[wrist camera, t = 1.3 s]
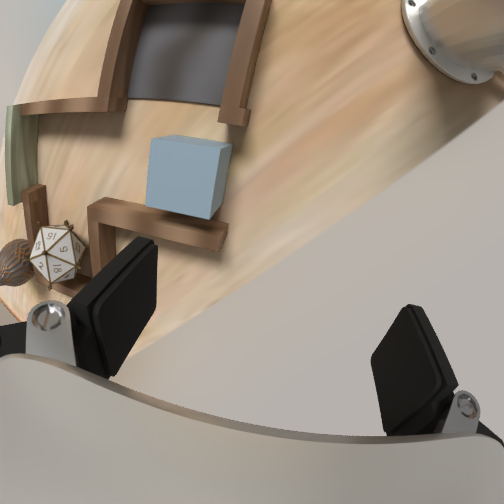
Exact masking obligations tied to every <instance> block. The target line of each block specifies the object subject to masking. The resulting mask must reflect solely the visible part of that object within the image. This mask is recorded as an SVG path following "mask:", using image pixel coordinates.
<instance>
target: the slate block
mask: <svg viewBox="0 0 504 504" xmlns="http://www.w3.org/2000/svg"><path fill="white" fill-rule="evenodd" d="M232 146H233V144H231V143H225V142H220V141H214V140H207V139H201V138H194V137H187V136H180V135H170V136H164V137H158V138H153V139H151V146H150V155H149V165H148V177H147V190H146V206H148V207H153V208H158V209H162V210H167V211H172V212H176V213H181V214H186V215H190V216H195V217H199V218H204V219H208V220H209V219H210V218H211V217H212V216H213V214H214V213H215V212H216V210H217V209H218V208H219V207H220V205H221V204H222V202H223V196H224V190H225V185H226V179H227V173H228V168H229V162H230V157H231V152H232Z"/></svg>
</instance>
